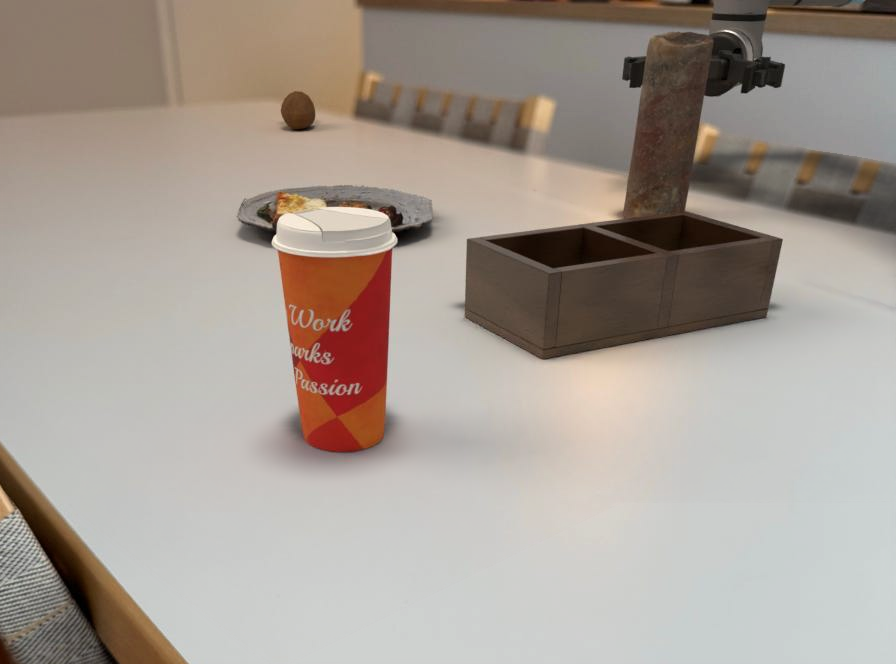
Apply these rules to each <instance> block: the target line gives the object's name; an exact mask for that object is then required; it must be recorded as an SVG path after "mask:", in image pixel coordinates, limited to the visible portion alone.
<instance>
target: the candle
mask: <svg viewBox="0 0 896 664" xmlns="http://www.w3.org/2000/svg"><path fill="white" fill-rule="evenodd" d="M713 43H714V41H713V38H712V37H711V36H709V34H705V33H698V32H693V31H684V32H681V31H676V32H675V31H669V32H663V33H661V34H656V35H653V36H652V37H650V38H649V41H648V44H647V48H646V54H645V56H646V60H645V68H644V75H643V83H642V85H641V88H640V89H641V90H640V97H639V102H638V110H637V118H636V125H635V132H634V140H633V146H632V153H631V158H630V166H629V171H628V178H627V184H626V189H625V190H626V191H625V198H624V204H623V214H622V218H623V219H626V218H634V217H642V216H650V215H657V214H665V213H673V212H681V211H686V206H687V202H688V196H689V190H690V185H691V180H692V179H691V178H692V172H693V166H694V159H695V155H696V148H697V142H698V135H699V130H700V122H701V117H702V110H703V106H704V99H705V96H704V94H705V89H706V83H707V78H708V72H709V65H710V60H711V54H712V48H713Z"/></svg>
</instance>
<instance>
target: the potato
mask: <svg viewBox="0 0 896 664" xmlns="http://www.w3.org/2000/svg"><path fill="white" fill-rule="evenodd" d="M280 115H281V117H282V119H283V121H284V123H285V124H286V125H287V127H288V128H290V129H293V130H303V129H306V128H309V127H310V126H312V125H313V124H314V122H315V119H316V108H315V104H314V102H313V100H312V99H311V98H310V96H309V95H308V94H306V93H305V92H303V91H299V90H298V91H297V90H295V91H292V92H290V93H289V94H288V95H286V97H284V99H283V100H282V103H281V107H280Z"/></svg>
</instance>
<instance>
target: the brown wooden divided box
mask: <svg viewBox="0 0 896 664" xmlns="http://www.w3.org/2000/svg"><path fill="white" fill-rule="evenodd" d="M783 241H784V239H783V238H781V237H777V236H774V235H770V234H767V233H764V232H760V231H757V230H753V229H749V228H746V227H743V226H739V225H735V224H733V223H732V224H731V223H728V222H725V221H721V220H718V219H714V218H712V217H708V216H705V215H701V214H697V213H693V212H690V211H687V210H685V211H681V212H673V213H665V214H657V215H650V216H642V217H634V218H626V219H624V218H620V219H618V218H617V219H612V220H603V221H595V222H587V223H581V224H580V223H579V224H573V225H565V226H556V227H549V228H540V229H533V230H526V231H525V230H523V231H517V232H509V233H502V234H493V235H487V236H486V235H485V236H480V237H477V236H476V237H471V238H470V237H469V238H467V239H466V253H465V254H466V255H465V256H466V257H465V258H466V259H465V260H466V261H465V286H464V287H465V289H464V318H466V319H468V320H469V321H472V322H473V323H475V324H477V325H478V326H481V327H483V329H484V328H485V329H486V330H488V331H490V332H492V333H493V334H496V335H497V336H499V337H501V338H503V339H504V340H507V341H508V342H510V343H512V344H514V345H516V346H518V347H519V348H522V349H523V350H525V351H527V352H529V353H530V354H532V355H534V356H536V357H538V358H540V359H541V360H545V359H550V358H551V359H552V358H556V357H562V356H567V355H571V354H577V353H583V352H587V351H593V350H598V349H604V348H609V347H615V346H619V345H625V344H630V343H635V342H641V341H646V340H651V339H657V338H663V337H667V336H673V335H678V334H684V333H689V332H695V331H699V330H705V329H710V328H715V327H720V326H721V327H722V326H725V325H726V326H727V325H731V324H737V323H742V322H747V321H752V320H757V319H762V318H767V317H768V312H769V308H770V303H771V298H772V293H773V288H774V284H775V279H776V274H777V270H778V266H779V260H780V255H781V251H782V245H783Z"/></svg>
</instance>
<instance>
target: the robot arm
mask: <svg viewBox="0 0 896 664" xmlns="http://www.w3.org/2000/svg"><path fill="white" fill-rule="evenodd" d="M865 1H866V0H714V1H713V8H712V15H711V19H710V24H709V29H708V30H709V31H708V35H709V36H711V37H712V38H713V41H714V43H713V48H712V54H711V60H710V65H709V72H708V78H707V83H706V89H705V94H704V97H710V98H714V97H716V98H718V97H721V96H723V95H725V94H726V93H728V92H730V91H731V90H732V89H734V88H735V87H738V86H740V85H741V88H740V94H749V93H750V92H751V91H753V90H754V89H755V88H756V87H757V88H759V89H763V88H765V87H766V86H769V87H772V88H774V89H778V88H781V87H782V83H783V79H784V74H785V68H786V64H785V63H783V62H779V61H774V60H771V59H772V57H771V56H763V53H764V45H763V41H762V40H763V36H764V31H765V25H766V20H767V14H768V10H769V7H794V6H795V7H832V8H842V7H845V6H856V5H857V6H858V5H860V4H862V3H864V2H865ZM645 60H646V55H641V56H627V57H624V58H623V68H622V77H621V79H622V80H623V81H625V82H628V81H629V87H628V88H629V89H636V88H639V89H642V83H643V75H644V68H645Z"/></svg>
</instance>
